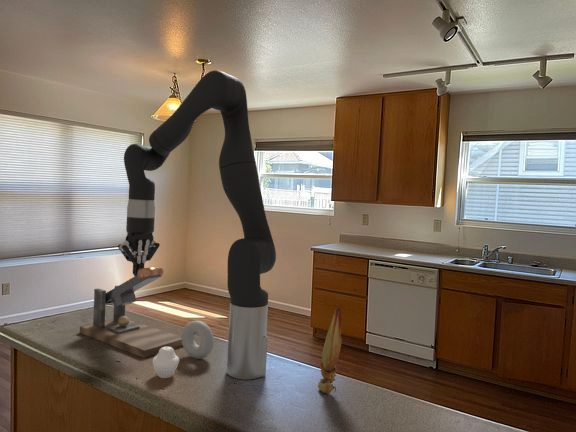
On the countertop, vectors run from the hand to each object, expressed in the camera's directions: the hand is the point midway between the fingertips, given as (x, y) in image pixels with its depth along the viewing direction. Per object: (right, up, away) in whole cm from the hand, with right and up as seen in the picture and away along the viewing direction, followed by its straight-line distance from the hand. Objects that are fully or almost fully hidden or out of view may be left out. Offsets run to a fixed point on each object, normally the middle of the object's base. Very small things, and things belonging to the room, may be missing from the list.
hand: (138, 276), depth 128 cm
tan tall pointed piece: (+51, -23, -28) cm, 63 cm away
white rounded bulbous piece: (+14, -21, -22) cm, 33 cm away
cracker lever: (-2, -7, +1) cm, 8 cm away
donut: (+19, -20, -10) cm, 30 cm away
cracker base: (-3, -18, +2) cm, 19 cm away
